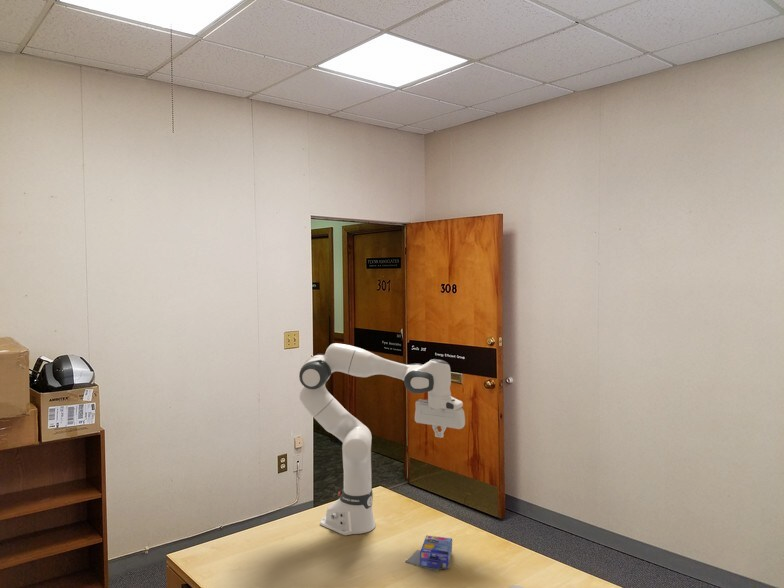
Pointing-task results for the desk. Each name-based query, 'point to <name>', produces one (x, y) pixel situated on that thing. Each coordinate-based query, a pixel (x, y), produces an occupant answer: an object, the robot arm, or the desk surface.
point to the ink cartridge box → (436, 552)
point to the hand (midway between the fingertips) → (439, 436)
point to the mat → (418, 561)
